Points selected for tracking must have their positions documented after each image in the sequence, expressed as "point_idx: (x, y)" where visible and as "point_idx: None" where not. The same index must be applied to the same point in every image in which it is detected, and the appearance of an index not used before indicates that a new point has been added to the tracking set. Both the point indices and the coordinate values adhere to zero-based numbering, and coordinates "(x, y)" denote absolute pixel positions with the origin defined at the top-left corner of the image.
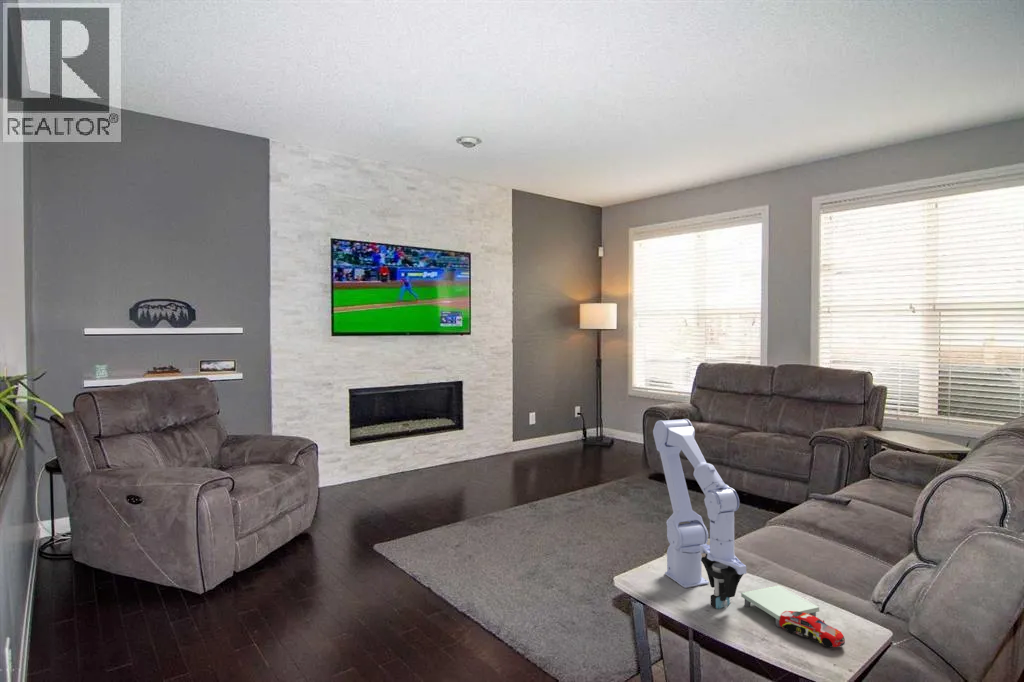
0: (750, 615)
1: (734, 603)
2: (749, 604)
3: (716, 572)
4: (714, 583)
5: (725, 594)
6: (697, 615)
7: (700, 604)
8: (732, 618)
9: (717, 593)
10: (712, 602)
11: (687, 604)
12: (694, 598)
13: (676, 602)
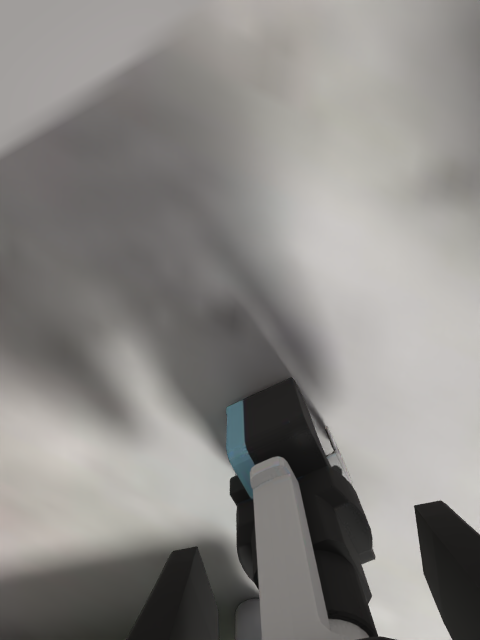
0: (127, 574)
1: None
2: (235, 635)
3: None
4: (303, 564)
5: (241, 558)
6: (147, 187)
7: (337, 303)
8: (88, 448)
9: (254, 496)
10: (277, 400)
11: (360, 181)
12: (452, 298)
13: (422, 78)
